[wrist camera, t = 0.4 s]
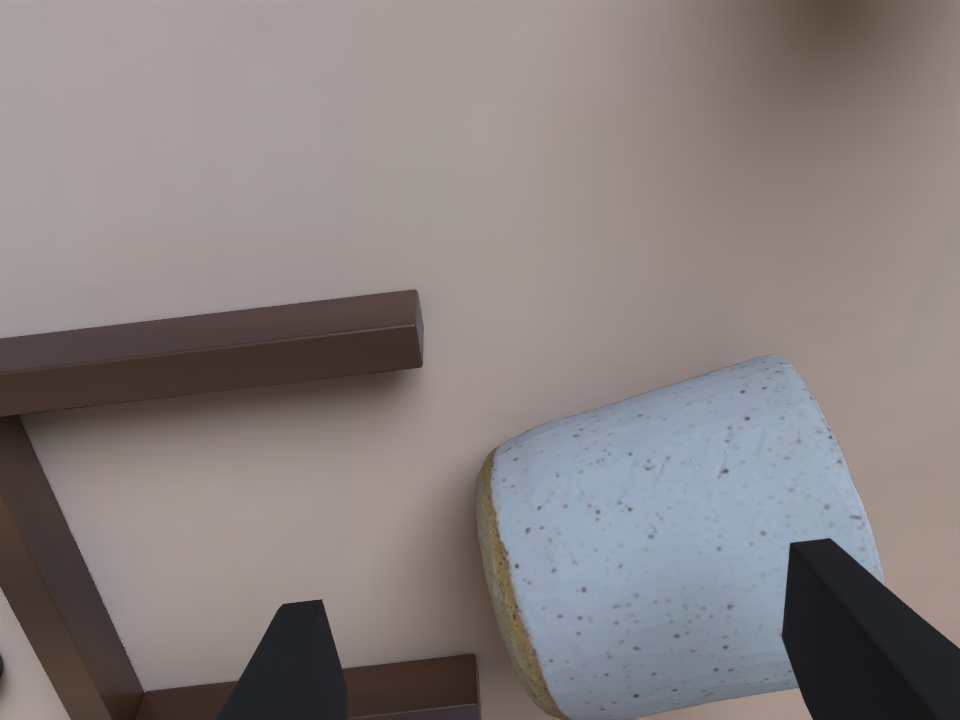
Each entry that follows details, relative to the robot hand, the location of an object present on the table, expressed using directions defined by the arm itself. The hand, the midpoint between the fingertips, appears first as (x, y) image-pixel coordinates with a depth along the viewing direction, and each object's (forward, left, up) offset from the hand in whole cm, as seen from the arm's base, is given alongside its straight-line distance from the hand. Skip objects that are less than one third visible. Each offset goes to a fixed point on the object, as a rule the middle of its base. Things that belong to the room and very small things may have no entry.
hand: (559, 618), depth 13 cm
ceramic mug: (-6, -4, -10) cm, 12 cm away
